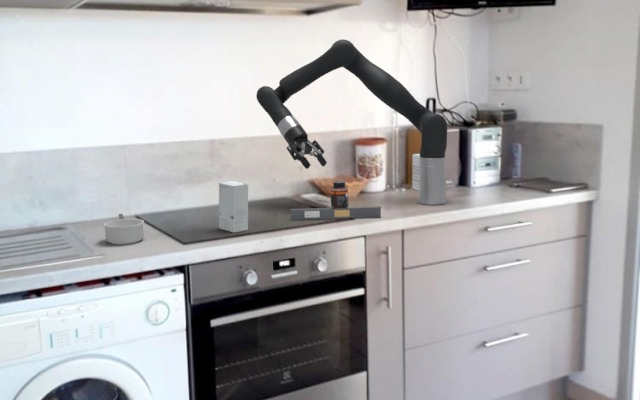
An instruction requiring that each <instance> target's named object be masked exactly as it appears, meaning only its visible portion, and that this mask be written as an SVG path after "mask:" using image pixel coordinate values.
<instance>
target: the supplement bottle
mask: <svg viewBox="0 0 640 400" xmlns="http://www.w3.org/2000/svg"><path fill="white" fill-rule="evenodd" d="M332 185H333V187H331V188H330V208H349V189H348V188H347V187H346V181H344V180H335V181H333V183H332Z"/></svg>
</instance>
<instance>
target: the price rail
mask: <svg viewBox="0 0 640 400" xmlns="http://www.w3.org/2000/svg"><path fill="white" fill-rule="evenodd" d="M381 209H382V208H381V206H358V207H357V206H355V207H354V206H353V207H349V206H348V208H331V207H318V208H290V221H309V220H310V221H313V220H315V221H317V219H320V220H347V219H349V220H350V218H352V220H353V219H354V220H355V219H381V218H382V217H381V215H382V214H381V213H382V212H381Z"/></svg>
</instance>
